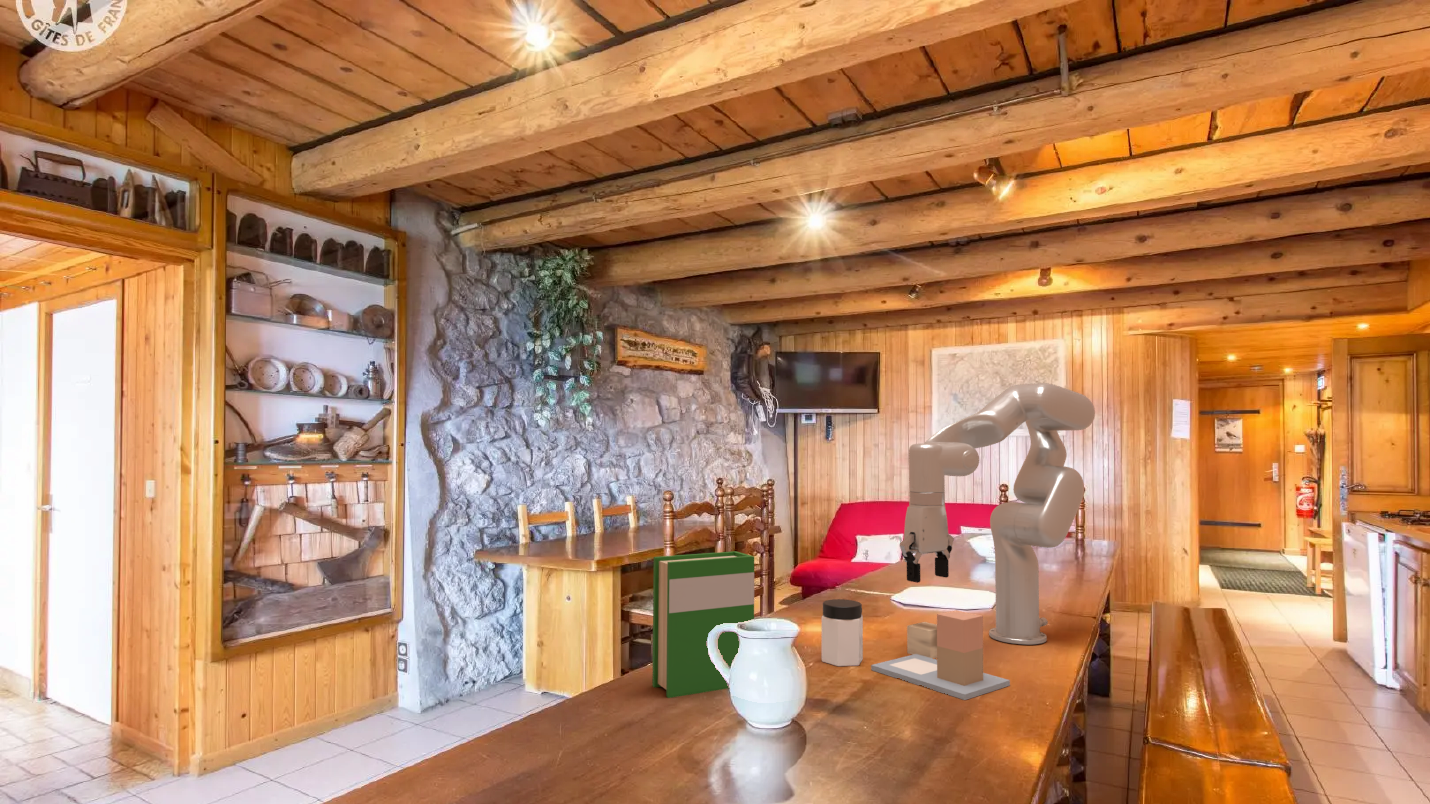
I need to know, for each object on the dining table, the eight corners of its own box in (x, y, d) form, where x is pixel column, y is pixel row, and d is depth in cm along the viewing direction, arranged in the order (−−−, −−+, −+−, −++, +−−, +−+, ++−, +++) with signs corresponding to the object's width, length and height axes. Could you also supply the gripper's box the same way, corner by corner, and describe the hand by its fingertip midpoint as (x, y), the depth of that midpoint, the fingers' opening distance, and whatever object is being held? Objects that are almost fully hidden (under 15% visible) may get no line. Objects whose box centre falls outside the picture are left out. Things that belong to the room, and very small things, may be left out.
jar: (871, 662, 161) (871, 604, 162) (845, 669, 156) (845, 609, 156) (839, 652, 168) (839, 597, 168) (813, 659, 163) (813, 601, 163)
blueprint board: (916, 658, 164) (916, 625, 164) (1009, 685, 146) (1009, 648, 146) (871, 670, 155) (871, 634, 156) (964, 700, 138) (964, 660, 138)
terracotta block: (956, 641, 151) (956, 610, 152) (983, 647, 146) (982, 615, 147) (937, 645, 148) (936, 614, 148) (964, 652, 143) (963, 620, 143)
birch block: (924, 649, 172) (924, 621, 172) (947, 655, 167) (947, 627, 167) (907, 653, 168) (907, 625, 168) (930, 659, 163) (929, 631, 164)
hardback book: (668, 698, 138) (669, 562, 139) (652, 686, 145) (653, 557, 146) (753, 684, 146) (754, 556, 147) (735, 673, 153) (735, 551, 154)
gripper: (937, 497, 177) (938, 572, 176) (887, 500, 166) (888, 581, 166) (965, 499, 171) (966, 577, 170) (915, 503, 160) (916, 586, 160)
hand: (927, 578), depth 168 cm, fingers open, 9 cm apart
